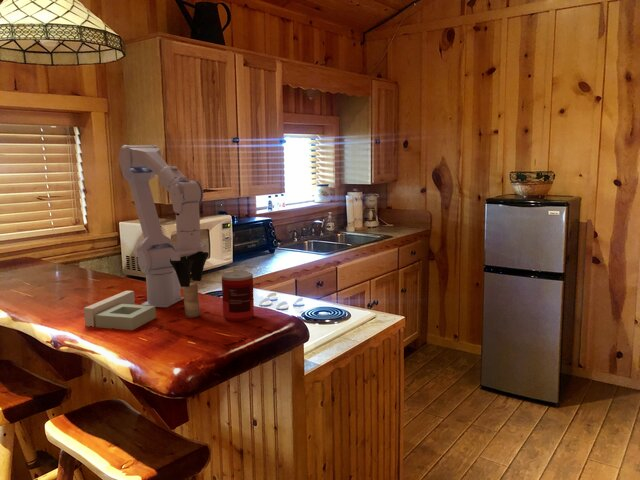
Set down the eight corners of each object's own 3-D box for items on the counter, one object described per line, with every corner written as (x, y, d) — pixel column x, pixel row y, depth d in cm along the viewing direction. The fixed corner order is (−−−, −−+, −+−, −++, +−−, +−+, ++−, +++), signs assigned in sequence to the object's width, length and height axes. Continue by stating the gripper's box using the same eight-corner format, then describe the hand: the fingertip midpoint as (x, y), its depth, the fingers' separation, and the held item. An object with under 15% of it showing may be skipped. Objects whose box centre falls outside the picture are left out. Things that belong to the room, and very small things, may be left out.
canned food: (239, 310, 142) (237, 269, 140) (260, 316, 137) (259, 273, 135) (216, 317, 136) (214, 275, 134) (238, 324, 131) (236, 279, 129)
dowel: (189, 313, 140) (186, 283, 139) (202, 313, 139) (199, 283, 138) (183, 317, 136) (180, 286, 135) (196, 317, 136) (193, 286, 134)
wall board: (127, 306, 147) (126, 290, 146) (135, 307, 146) (133, 291, 145) (85, 326, 130) (83, 308, 130) (93, 326, 130) (92, 308, 129)
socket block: (121, 315, 139) (120, 303, 139) (155, 317, 136) (155, 306, 136) (95, 327, 129) (95, 315, 129) (132, 330, 127) (131, 317, 126)
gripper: (188, 234, 126) (191, 291, 128) (216, 226, 140) (218, 277, 142) (161, 234, 128) (165, 289, 130) (191, 226, 142) (193, 276, 144)
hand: (191, 283), depth 136 cm, fingers open, 6 cm apart
